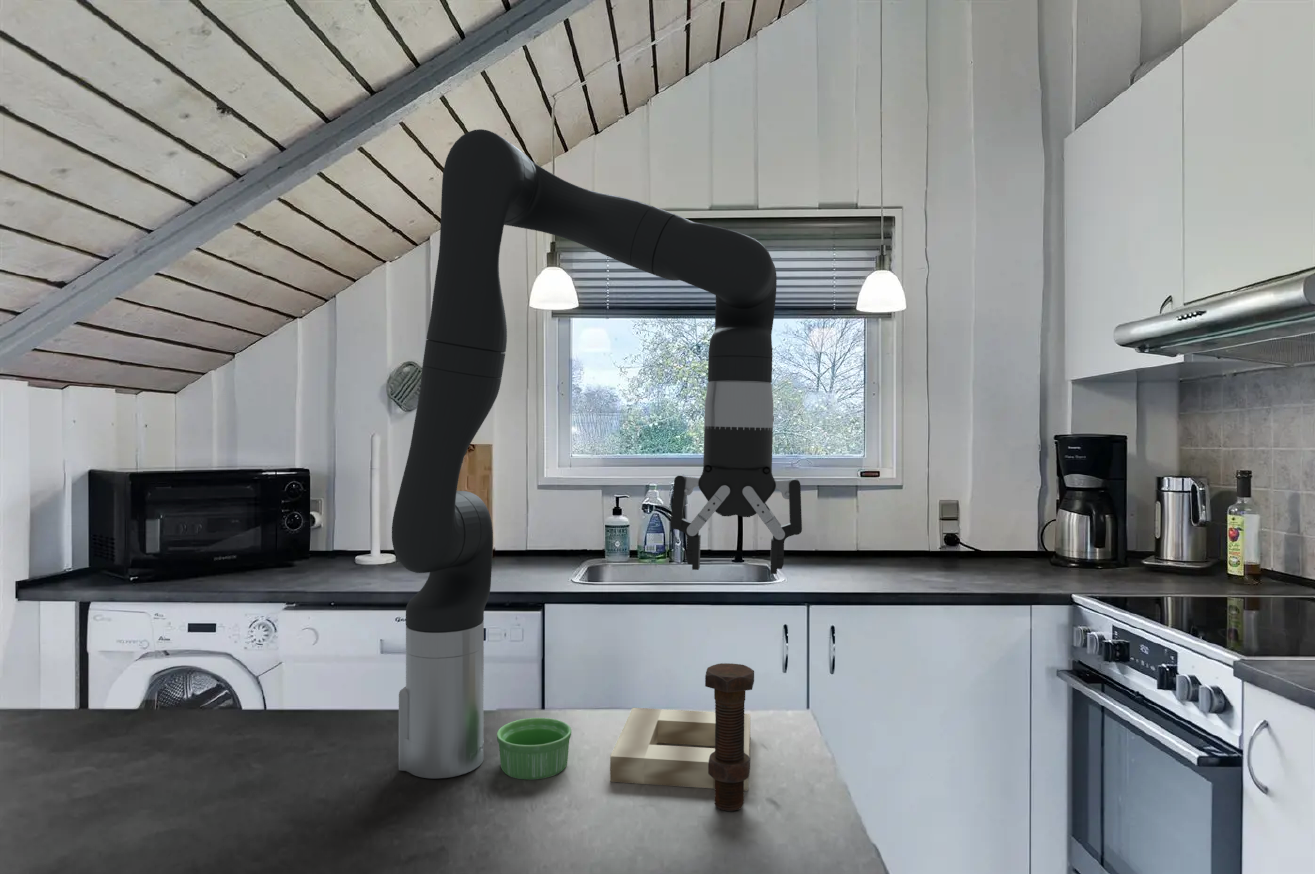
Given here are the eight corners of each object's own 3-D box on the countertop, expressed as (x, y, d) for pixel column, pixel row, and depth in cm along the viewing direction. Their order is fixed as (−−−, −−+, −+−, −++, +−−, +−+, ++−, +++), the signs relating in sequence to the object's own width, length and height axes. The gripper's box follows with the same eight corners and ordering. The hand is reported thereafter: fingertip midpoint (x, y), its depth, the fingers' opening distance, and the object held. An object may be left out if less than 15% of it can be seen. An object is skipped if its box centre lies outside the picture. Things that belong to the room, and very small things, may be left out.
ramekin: (492, 756, 99) (492, 721, 99) (563, 747, 102) (563, 713, 102) (501, 787, 91) (501, 749, 91) (578, 777, 94) (578, 740, 94)
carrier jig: (610, 781, 92) (610, 755, 92) (632, 729, 108) (632, 707, 108) (748, 790, 90) (748, 764, 90) (750, 736, 106) (750, 713, 106)
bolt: (749, 821, 83) (750, 679, 83) (702, 816, 84) (703, 676, 84) (754, 796, 89) (755, 663, 89) (709, 791, 90) (710, 660, 90)
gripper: (670, 422, 84) (666, 574, 85) (806, 425, 82) (801, 580, 83) (677, 422, 92) (674, 561, 92) (802, 425, 90) (798, 567, 90)
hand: (734, 570), depth 87 cm, fingers open, 8 cm apart
